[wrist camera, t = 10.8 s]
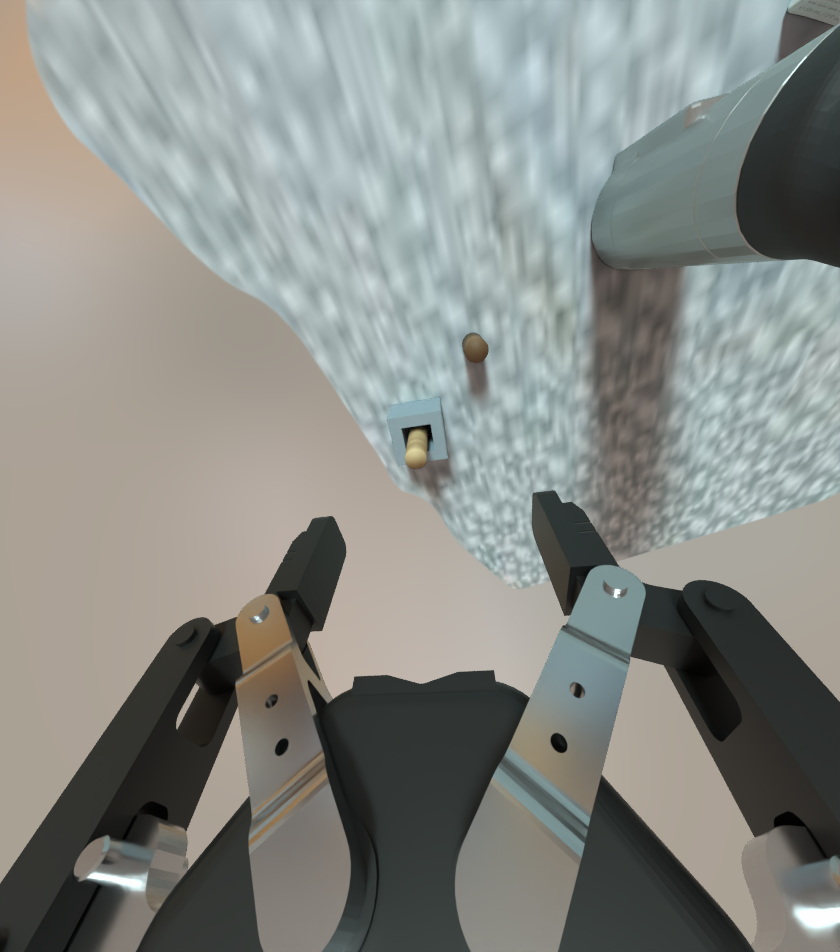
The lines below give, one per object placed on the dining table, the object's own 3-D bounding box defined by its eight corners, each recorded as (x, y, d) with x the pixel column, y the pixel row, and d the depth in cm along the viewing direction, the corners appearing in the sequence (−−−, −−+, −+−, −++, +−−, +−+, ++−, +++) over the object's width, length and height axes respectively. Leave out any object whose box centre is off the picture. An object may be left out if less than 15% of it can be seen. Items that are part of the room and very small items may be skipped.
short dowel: (461, 334, 36) (464, 341, 32) (481, 331, 36) (487, 336, 32) (463, 356, 37) (466, 364, 33) (483, 352, 37) (489, 360, 33)
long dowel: (409, 417, 42) (402, 451, 33) (426, 414, 41) (424, 448, 33) (412, 433, 43) (407, 470, 34) (429, 431, 43) (428, 467, 34)
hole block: (391, 405, 41) (386, 419, 36) (439, 397, 40) (440, 410, 36) (401, 447, 44) (398, 465, 40) (446, 441, 43) (447, 458, 39)
